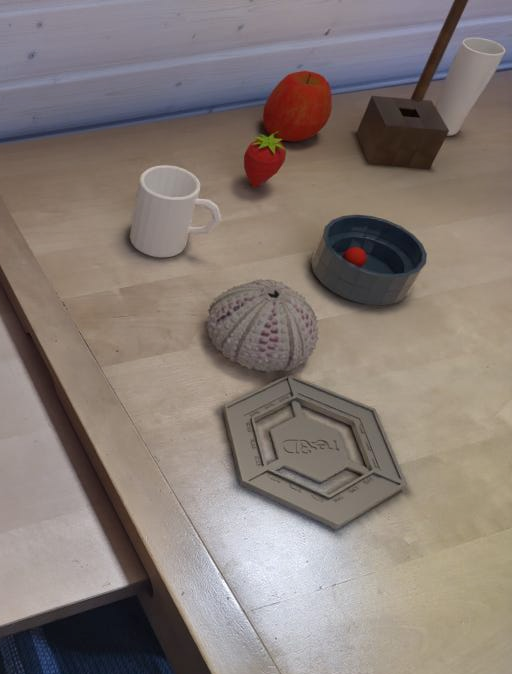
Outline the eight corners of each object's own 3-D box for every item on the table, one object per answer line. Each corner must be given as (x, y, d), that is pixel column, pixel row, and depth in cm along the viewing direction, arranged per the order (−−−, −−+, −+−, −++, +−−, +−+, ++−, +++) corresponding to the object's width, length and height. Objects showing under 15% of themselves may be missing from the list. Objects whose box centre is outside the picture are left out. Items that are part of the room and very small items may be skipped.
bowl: (395, 250, 103) (411, 219, 99) (420, 313, 94) (439, 281, 90) (303, 242, 103) (315, 210, 99) (319, 303, 94) (333, 271, 90)
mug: (198, 275, 97) (215, 216, 90) (120, 244, 101) (130, 185, 94) (220, 245, 102) (237, 186, 95) (144, 216, 106) (155, 158, 99)
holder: (413, 138, 125) (431, 100, 120) (429, 169, 118) (449, 130, 113) (356, 133, 125) (371, 95, 120) (368, 163, 119) (385, 125, 113)
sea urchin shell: (289, 398, 83) (312, 351, 77) (183, 350, 87) (197, 302, 82) (324, 332, 91) (347, 285, 85) (225, 291, 95) (240, 243, 89)
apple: (310, 156, 119) (332, 96, 112) (249, 136, 123) (266, 77, 115) (328, 129, 126) (350, 70, 118) (269, 111, 129) (287, 53, 122)
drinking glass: (414, 127, 128) (454, 43, 117) (432, 116, 131) (473, 33, 120) (450, 143, 124) (495, 58, 113) (468, 131, 127) (513, 47, 116)
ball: (346, 275, 99) (367, 267, 99) (350, 267, 96) (372, 259, 96) (337, 257, 100) (358, 249, 100) (341, 248, 97) (362, 240, 97)
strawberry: (281, 182, 114) (301, 125, 106) (263, 204, 109) (282, 146, 102) (247, 170, 116) (264, 112, 108) (228, 190, 111) (244, 132, 104)
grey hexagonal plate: (358, 381, 85) (361, 376, 84) (421, 531, 71) (425, 526, 71) (214, 377, 84) (216, 372, 84) (250, 527, 71) (252, 523, 70)
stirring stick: (420, 97, 115) (488, -54, 99) (424, 102, 114) (494, -50, 98) (409, 96, 115) (476, -55, 99) (412, 101, 114) (480, -51, 98)
